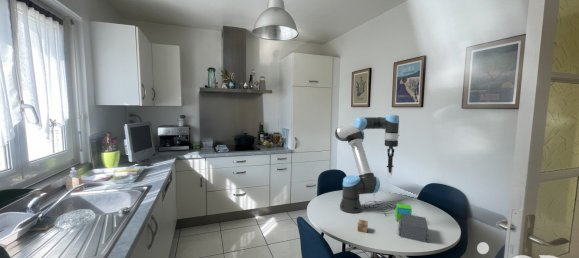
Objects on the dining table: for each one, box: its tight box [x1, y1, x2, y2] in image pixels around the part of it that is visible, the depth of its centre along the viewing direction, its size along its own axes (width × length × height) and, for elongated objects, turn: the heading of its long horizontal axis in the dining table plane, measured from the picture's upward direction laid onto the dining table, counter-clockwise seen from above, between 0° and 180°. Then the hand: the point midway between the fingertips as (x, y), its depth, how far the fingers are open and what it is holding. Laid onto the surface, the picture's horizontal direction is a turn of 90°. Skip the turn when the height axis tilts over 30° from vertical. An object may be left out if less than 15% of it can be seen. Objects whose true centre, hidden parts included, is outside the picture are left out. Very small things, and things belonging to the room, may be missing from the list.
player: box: [400, 213, 429, 244], centre depth 135 cm, size 13×14×8 cm
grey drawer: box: [397, 219, 401, 236], centre depth 136 cm, size 13×12×5 cm
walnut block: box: [357, 219, 369, 234], centre depth 139 cm, size 5×5×5 cm
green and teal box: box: [394, 203, 413, 222], centre depth 154 cm, size 10×13×10 cm
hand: (389, 177), depth 146 cm, fingers closed
